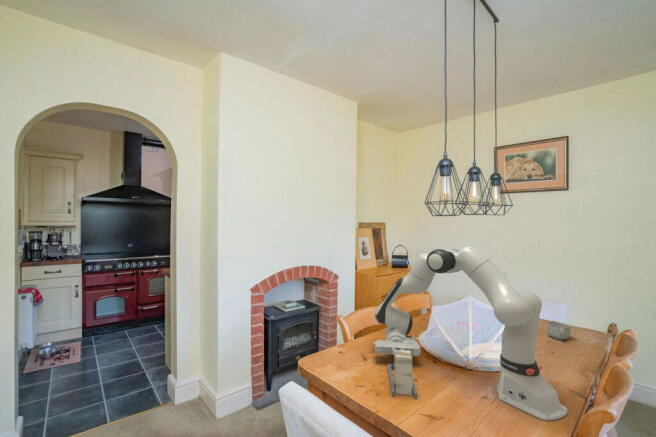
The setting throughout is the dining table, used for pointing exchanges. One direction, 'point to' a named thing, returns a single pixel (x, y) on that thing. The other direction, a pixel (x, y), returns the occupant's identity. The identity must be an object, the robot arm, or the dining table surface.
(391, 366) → the chute
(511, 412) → the dining table surface
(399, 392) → the cream block
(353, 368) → the dining table surface
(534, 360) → the robot arm
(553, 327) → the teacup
